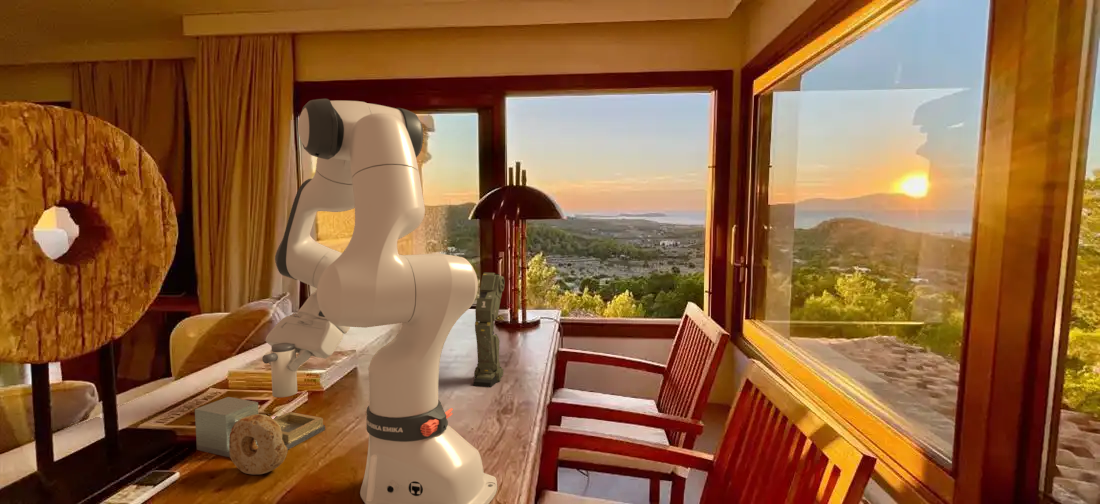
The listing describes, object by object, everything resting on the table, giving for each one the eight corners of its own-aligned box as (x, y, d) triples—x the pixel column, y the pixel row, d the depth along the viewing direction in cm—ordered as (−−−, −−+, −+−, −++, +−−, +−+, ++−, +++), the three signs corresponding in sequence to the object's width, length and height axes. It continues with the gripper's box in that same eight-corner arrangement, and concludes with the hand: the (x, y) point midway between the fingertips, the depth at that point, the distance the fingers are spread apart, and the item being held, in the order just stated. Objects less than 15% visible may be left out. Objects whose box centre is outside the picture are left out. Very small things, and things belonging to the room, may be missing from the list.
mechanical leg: (490, 389, 135) (499, 270, 140) (463, 386, 137) (472, 269, 141) (505, 384, 149) (512, 276, 153) (480, 382, 150) (488, 275, 154)
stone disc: (224, 473, 94) (222, 417, 93) (241, 463, 98) (239, 410, 97) (274, 481, 91) (272, 424, 90) (290, 471, 95) (288, 416, 94)
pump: (302, 391, 122) (300, 343, 121) (276, 401, 115) (274, 351, 114) (285, 388, 123) (283, 341, 122) (258, 399, 117) (256, 349, 116)
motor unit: (325, 429, 112) (324, 392, 111) (259, 464, 97) (258, 421, 96) (267, 418, 118) (265, 383, 117) (196, 449, 103) (194, 409, 102)
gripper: (282, 305, 130) (243, 353, 122) (338, 312, 120) (300, 366, 112) (299, 320, 134) (263, 368, 126) (355, 328, 124) (319, 381, 116)
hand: (281, 367), depth 119 cm, fingers closed on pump, 5 cm apart
